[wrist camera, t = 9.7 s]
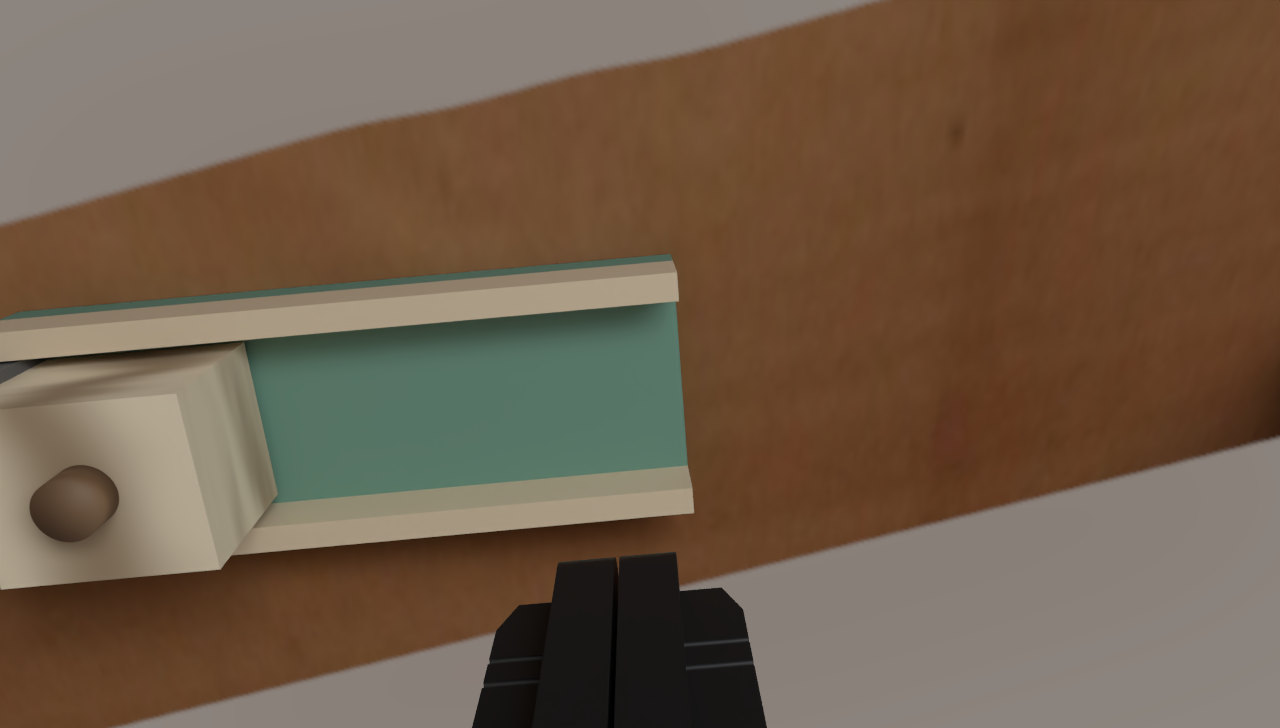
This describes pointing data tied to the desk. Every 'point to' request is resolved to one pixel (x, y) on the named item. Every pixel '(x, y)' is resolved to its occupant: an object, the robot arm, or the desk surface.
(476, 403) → the rail
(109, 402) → the cream knobbed cube
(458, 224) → the desk surface
